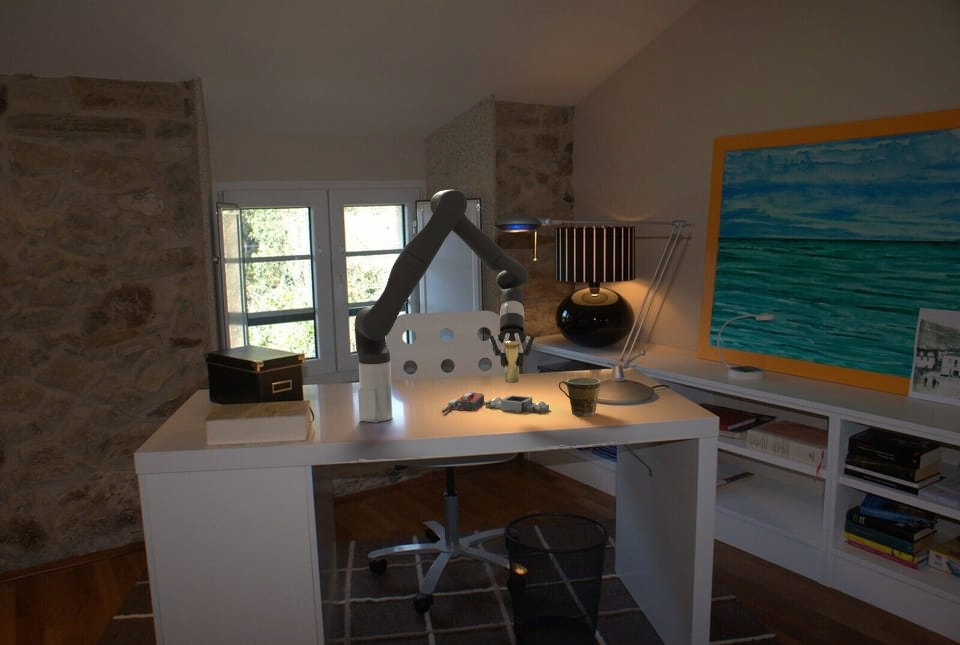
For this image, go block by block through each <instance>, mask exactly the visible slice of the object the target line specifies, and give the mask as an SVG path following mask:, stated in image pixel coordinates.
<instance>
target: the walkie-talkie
mask: <svg viewBox="0 0 960 645" xmlns="http://www.w3.org/2000/svg"><path fill="white" fill-rule="evenodd" d="M484 403H485V395H484V393H482V392H480V393H479V392H474V391H468V392H465V393H464V394H463V395H462V396H461V397H459V398H455V399H452V400H451V401H449V402H447V405H448V406H446V407H445V408H444V409H442V410H441V413H443V414H445V413H446V412H448V411H449V410H450V409H451V410H460V411H461V410H463V411H475V410H477V409H478V408H479V407H480V406H481V405H483V404H484Z"/></svg>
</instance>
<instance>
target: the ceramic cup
mask: <svg viewBox="0 0 960 645" xmlns="http://www.w3.org/2000/svg"><path fill="white" fill-rule="evenodd" d="M561 384H564V385H565V386H566V387H567V392H566V391H565V390H564V389H562V386H561ZM558 388H559V390H560V391H561V392H562V393H563V394H565V396H566V397H567V398H568V399H569V404H570V407H571V414H572V415H574V416H576V417H585V418H586V417H592V416H594V415H596V411H597V406H598V400H599V394H600V389H601V380H600V379H598V378H593V377H573V378H569V379H567V380H566V381H565V380H562V381H560V382H559V383H558Z"/></svg>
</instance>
